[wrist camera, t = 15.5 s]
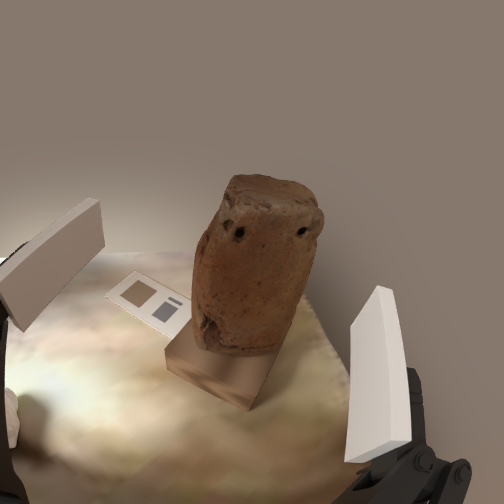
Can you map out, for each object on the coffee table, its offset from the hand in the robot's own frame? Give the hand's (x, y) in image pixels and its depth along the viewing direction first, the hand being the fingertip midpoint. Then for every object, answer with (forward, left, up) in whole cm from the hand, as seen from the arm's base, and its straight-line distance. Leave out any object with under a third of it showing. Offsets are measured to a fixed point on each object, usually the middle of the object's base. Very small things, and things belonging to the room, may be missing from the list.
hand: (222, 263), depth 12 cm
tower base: (-2, +12, -26) cm, 29 cm away
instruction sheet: (-17, +14, -26) cm, 34 cm away
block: (-2, +12, -21) cm, 24 cm away
